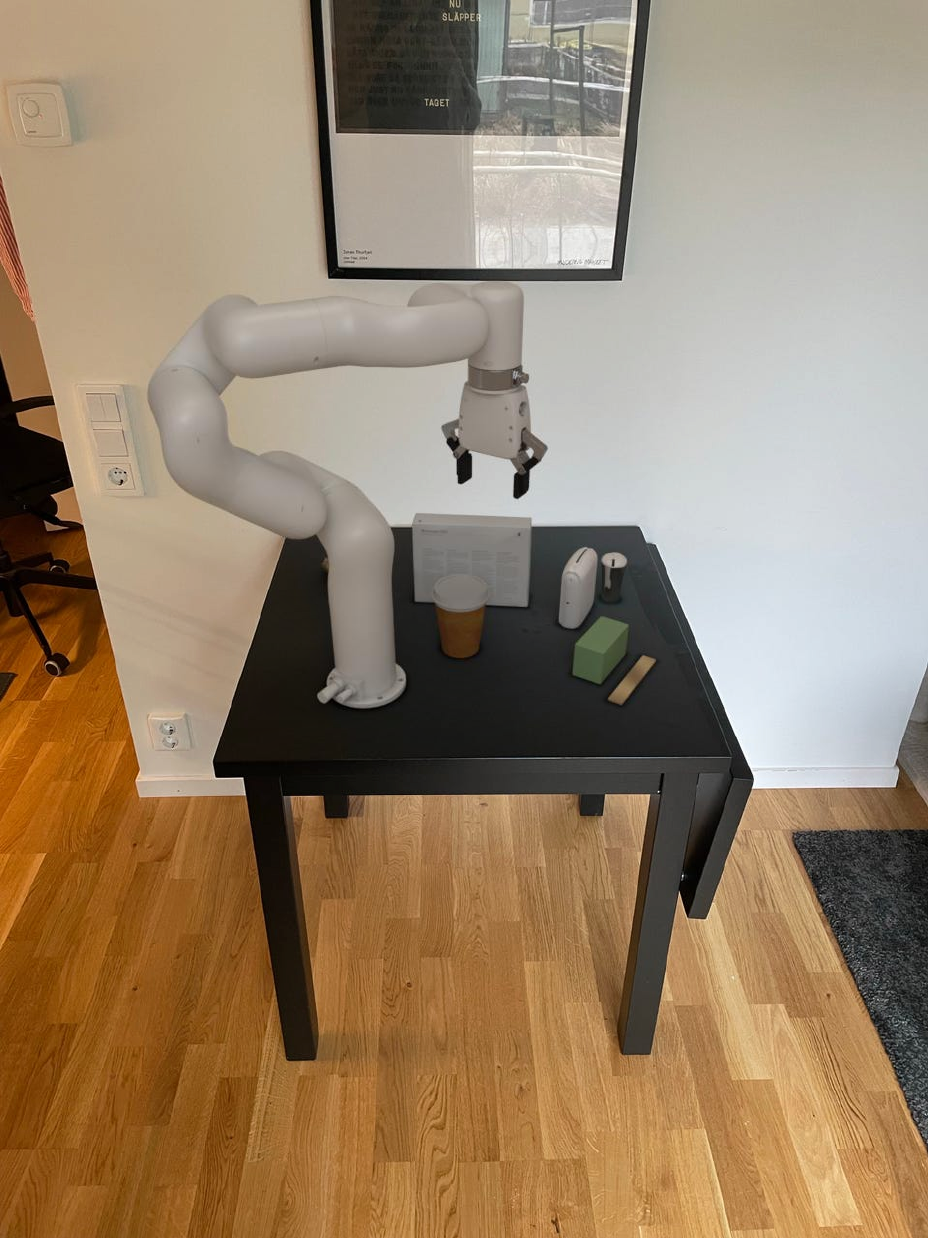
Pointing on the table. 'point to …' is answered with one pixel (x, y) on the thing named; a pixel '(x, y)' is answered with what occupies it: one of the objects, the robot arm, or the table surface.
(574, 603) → the photo printer
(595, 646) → the green box
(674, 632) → the table surface
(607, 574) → the milkshake
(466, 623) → the disposable coffee cup
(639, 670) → the strip
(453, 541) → the skincare box
